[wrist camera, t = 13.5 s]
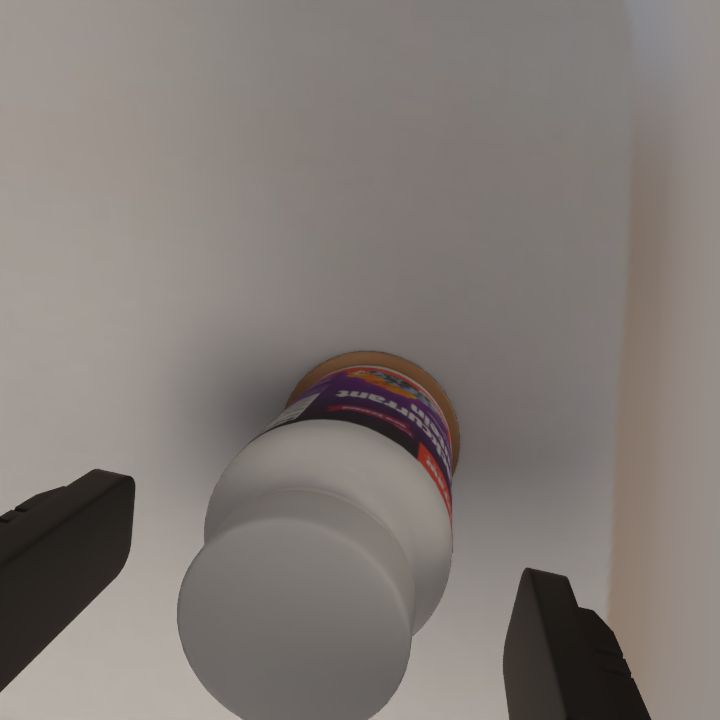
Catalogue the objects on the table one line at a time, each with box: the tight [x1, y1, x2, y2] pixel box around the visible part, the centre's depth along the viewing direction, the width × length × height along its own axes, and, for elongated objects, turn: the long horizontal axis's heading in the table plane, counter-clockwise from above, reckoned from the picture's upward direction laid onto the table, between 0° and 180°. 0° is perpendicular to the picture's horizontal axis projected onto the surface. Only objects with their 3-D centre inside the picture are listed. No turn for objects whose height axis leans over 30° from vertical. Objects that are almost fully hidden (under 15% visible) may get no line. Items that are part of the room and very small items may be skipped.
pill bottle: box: [177, 365, 453, 720], centre depth 14 cm, size 5×5×10 cm
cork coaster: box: [285, 351, 460, 476], centre depth 19 cm, size 6×6×1 cm
